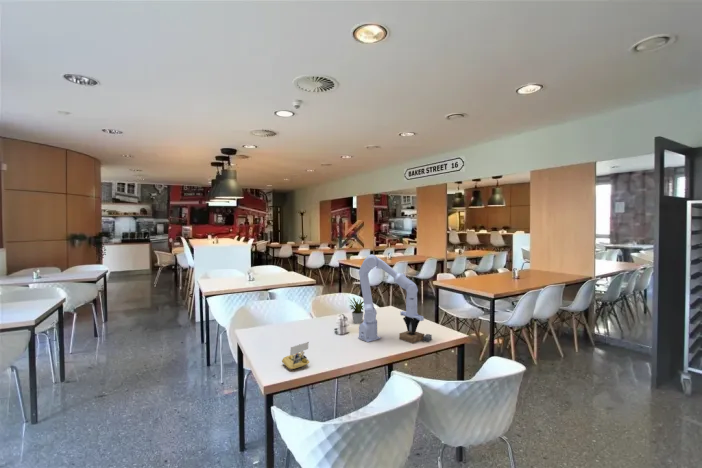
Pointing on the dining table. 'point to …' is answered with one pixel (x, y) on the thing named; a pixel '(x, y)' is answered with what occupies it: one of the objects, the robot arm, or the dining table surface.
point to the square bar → (427, 337)
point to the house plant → (357, 311)
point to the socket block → (411, 337)
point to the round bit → (410, 329)
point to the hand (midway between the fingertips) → (411, 331)
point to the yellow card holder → (296, 357)
